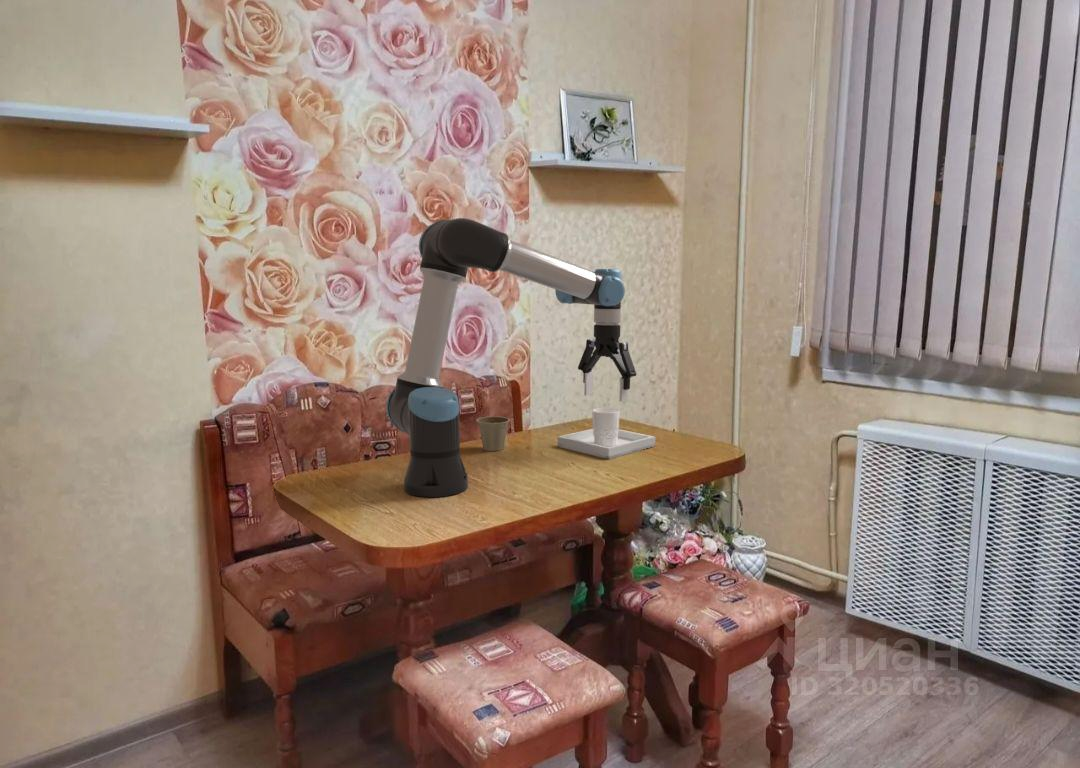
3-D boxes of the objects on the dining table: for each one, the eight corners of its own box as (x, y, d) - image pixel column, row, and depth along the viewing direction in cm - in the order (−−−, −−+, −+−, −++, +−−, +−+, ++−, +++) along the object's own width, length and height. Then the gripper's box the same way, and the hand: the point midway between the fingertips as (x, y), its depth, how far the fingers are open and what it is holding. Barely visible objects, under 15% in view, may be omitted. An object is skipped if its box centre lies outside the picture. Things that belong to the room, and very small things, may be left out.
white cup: (606, 448, 211) (606, 414, 209) (586, 444, 216) (586, 410, 215) (625, 444, 216) (625, 410, 214) (604, 439, 222) (605, 406, 220)
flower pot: (509, 453, 210) (508, 423, 209) (475, 453, 210) (475, 423, 209) (511, 445, 219) (510, 416, 218) (479, 445, 220) (478, 416, 218)
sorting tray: (608, 459, 202) (608, 448, 202) (557, 446, 217) (557, 436, 217) (655, 446, 216) (655, 436, 215) (604, 435, 230) (604, 426, 230)
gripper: (650, 325, 204) (648, 402, 207) (584, 320, 222) (583, 391, 226) (632, 327, 199) (630, 405, 202) (566, 322, 217) (565, 393, 221)
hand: (605, 397), depth 214 cm, fingers open, 13 cm apart
